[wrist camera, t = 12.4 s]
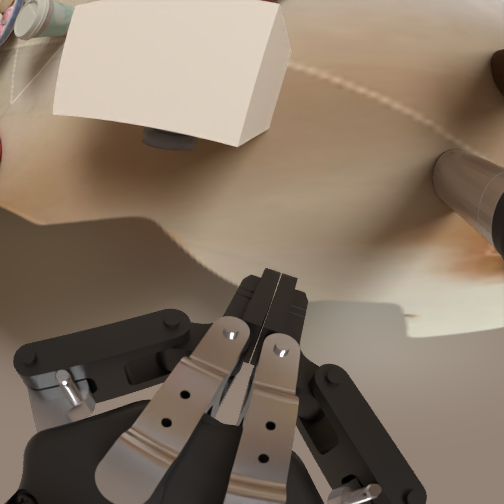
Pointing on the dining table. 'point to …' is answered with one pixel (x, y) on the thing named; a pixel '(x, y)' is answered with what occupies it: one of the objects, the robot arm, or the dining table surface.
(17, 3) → the ramen bowl
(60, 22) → the coffee cup
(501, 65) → the olive oil
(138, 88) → the knob mount
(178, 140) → the knob
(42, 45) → the dining table surface
